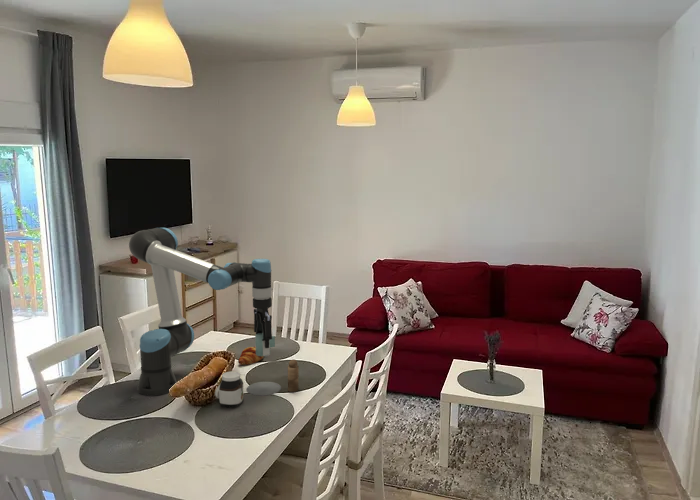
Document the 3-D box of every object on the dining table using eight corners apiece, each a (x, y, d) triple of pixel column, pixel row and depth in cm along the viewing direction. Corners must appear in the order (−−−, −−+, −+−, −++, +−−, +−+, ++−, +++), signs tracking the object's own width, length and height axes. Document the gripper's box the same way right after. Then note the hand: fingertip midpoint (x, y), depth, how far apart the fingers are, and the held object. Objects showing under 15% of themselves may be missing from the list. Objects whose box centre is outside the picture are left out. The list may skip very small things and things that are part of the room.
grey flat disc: (253, 398, 213) (253, 397, 213) (241, 385, 225) (241, 385, 225) (286, 391, 220) (286, 390, 220) (273, 379, 232) (273, 379, 232)
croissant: (260, 359, 267) (253, 344, 268) (275, 352, 263) (269, 337, 264) (234, 372, 248) (227, 356, 248) (251, 365, 244) (244, 349, 244)
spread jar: (235, 410, 202) (235, 380, 201) (207, 407, 205) (206, 377, 203) (248, 397, 214) (247, 368, 212) (221, 394, 216) (220, 366, 215)
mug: (259, 357, 217) (258, 337, 216) (253, 352, 222) (253, 334, 221) (277, 353, 221) (277, 334, 220) (271, 349, 226) (271, 331, 225)
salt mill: (290, 392, 218) (290, 362, 216) (286, 389, 222) (285, 359, 220) (300, 390, 220) (300, 360, 219) (295, 387, 224) (295, 357, 222)
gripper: (280, 301, 212) (281, 358, 215) (262, 291, 228) (263, 344, 231) (262, 303, 208) (263, 361, 211) (245, 293, 224) (246, 347, 227)
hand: (263, 352), depth 221 cm, fingers closed on mug, 6 cm apart
